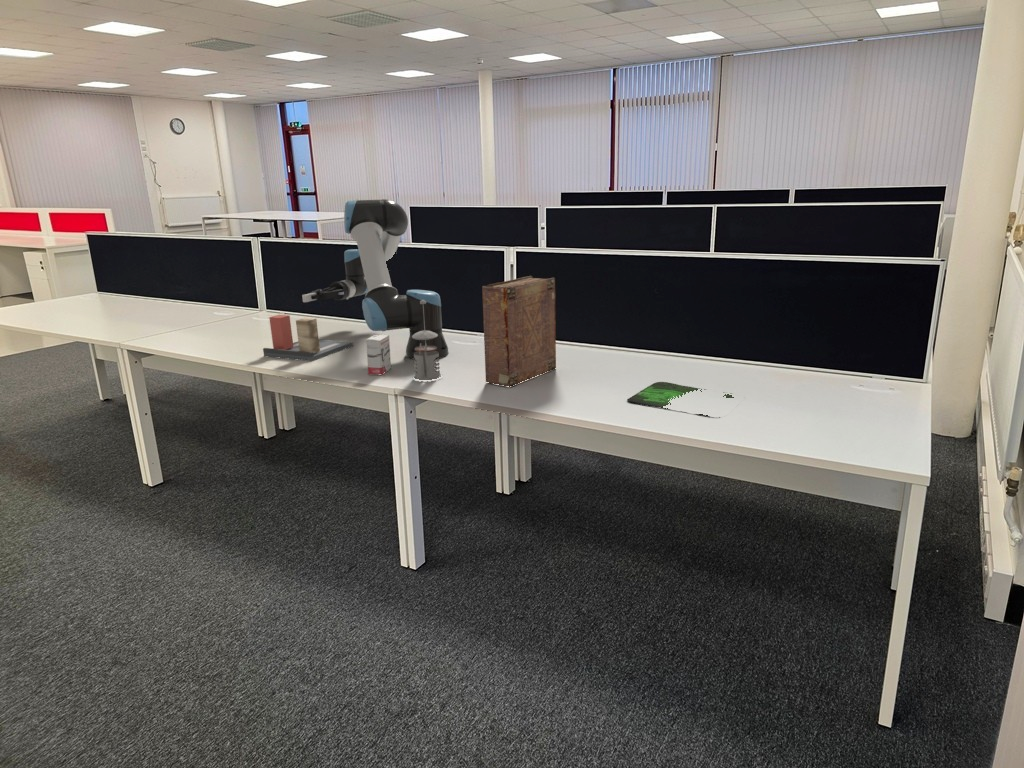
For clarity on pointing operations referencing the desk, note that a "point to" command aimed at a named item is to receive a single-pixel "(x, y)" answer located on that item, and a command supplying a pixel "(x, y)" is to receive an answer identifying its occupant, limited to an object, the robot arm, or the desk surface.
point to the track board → (294, 353)
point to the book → (519, 329)
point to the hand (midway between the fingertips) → (304, 298)
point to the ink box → (378, 354)
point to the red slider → (281, 332)
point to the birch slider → (308, 335)
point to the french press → (426, 355)
